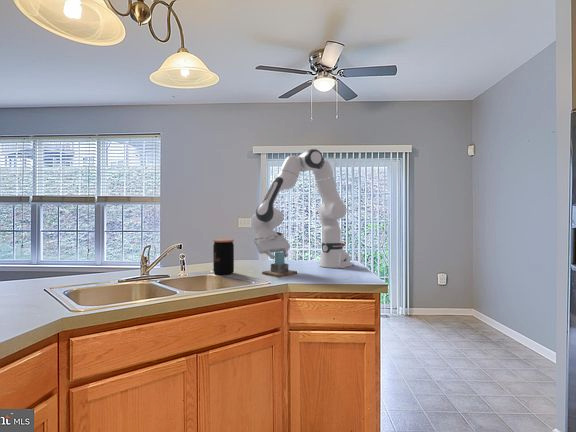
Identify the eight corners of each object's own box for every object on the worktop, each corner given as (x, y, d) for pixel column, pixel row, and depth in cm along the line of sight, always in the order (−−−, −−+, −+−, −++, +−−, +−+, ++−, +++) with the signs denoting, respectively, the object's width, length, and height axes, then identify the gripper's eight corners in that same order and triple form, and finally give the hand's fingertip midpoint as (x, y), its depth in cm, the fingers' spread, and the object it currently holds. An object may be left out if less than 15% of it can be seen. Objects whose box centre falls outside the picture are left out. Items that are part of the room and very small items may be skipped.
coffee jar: (212, 272, 181) (212, 239, 180) (232, 271, 184) (232, 238, 183) (214, 276, 170) (214, 240, 170) (235, 274, 174) (235, 240, 173)
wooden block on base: (281, 270, 185) (281, 261, 185) (297, 273, 176) (297, 263, 176) (262, 273, 176) (262, 264, 176) (277, 277, 167) (277, 266, 167)
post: (279, 270, 179) (279, 252, 178) (284, 271, 176) (284, 252, 176) (274, 271, 176) (274, 252, 176) (279, 272, 173) (279, 253, 173)
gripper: (255, 234, 174) (267, 255, 167) (284, 233, 188) (296, 251, 181) (250, 242, 177) (262, 263, 170) (279, 240, 191) (291, 259, 184)
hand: (280, 257), depth 176 cm, fingers open, 8 cm apart
